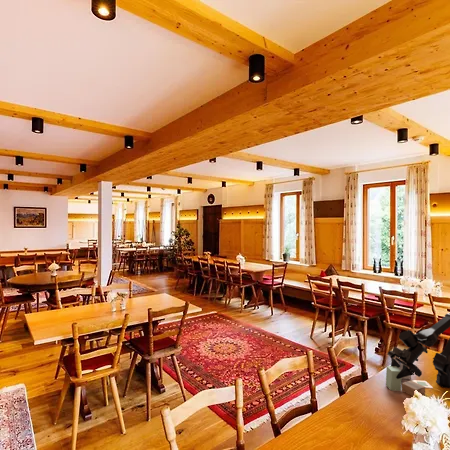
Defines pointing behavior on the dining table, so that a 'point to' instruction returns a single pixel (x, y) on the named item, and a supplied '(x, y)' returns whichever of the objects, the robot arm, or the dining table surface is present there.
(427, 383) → the card
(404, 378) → the medicine box
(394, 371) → the sage block
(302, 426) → the dining table surface
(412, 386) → the walnut base block
